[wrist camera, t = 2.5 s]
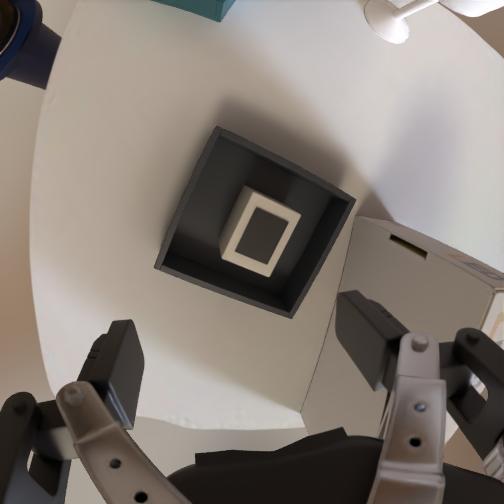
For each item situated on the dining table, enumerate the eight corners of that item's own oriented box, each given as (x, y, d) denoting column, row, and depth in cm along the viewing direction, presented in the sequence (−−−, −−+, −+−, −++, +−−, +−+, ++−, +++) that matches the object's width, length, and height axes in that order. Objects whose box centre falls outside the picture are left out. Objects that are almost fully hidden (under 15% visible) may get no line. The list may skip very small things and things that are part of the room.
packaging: (335, 409, 42) (385, 507, 23) (299, 413, 41) (343, 521, 22) (396, 221, 33) (530, 288, 14) (354, 215, 32) (496, 288, 13)
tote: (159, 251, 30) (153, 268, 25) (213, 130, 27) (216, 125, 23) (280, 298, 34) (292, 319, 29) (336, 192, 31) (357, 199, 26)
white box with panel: (217, 239, 30) (221, 259, 24) (243, 184, 28) (253, 191, 23) (257, 256, 31) (269, 278, 26) (284, 203, 30) (302, 215, 24)
